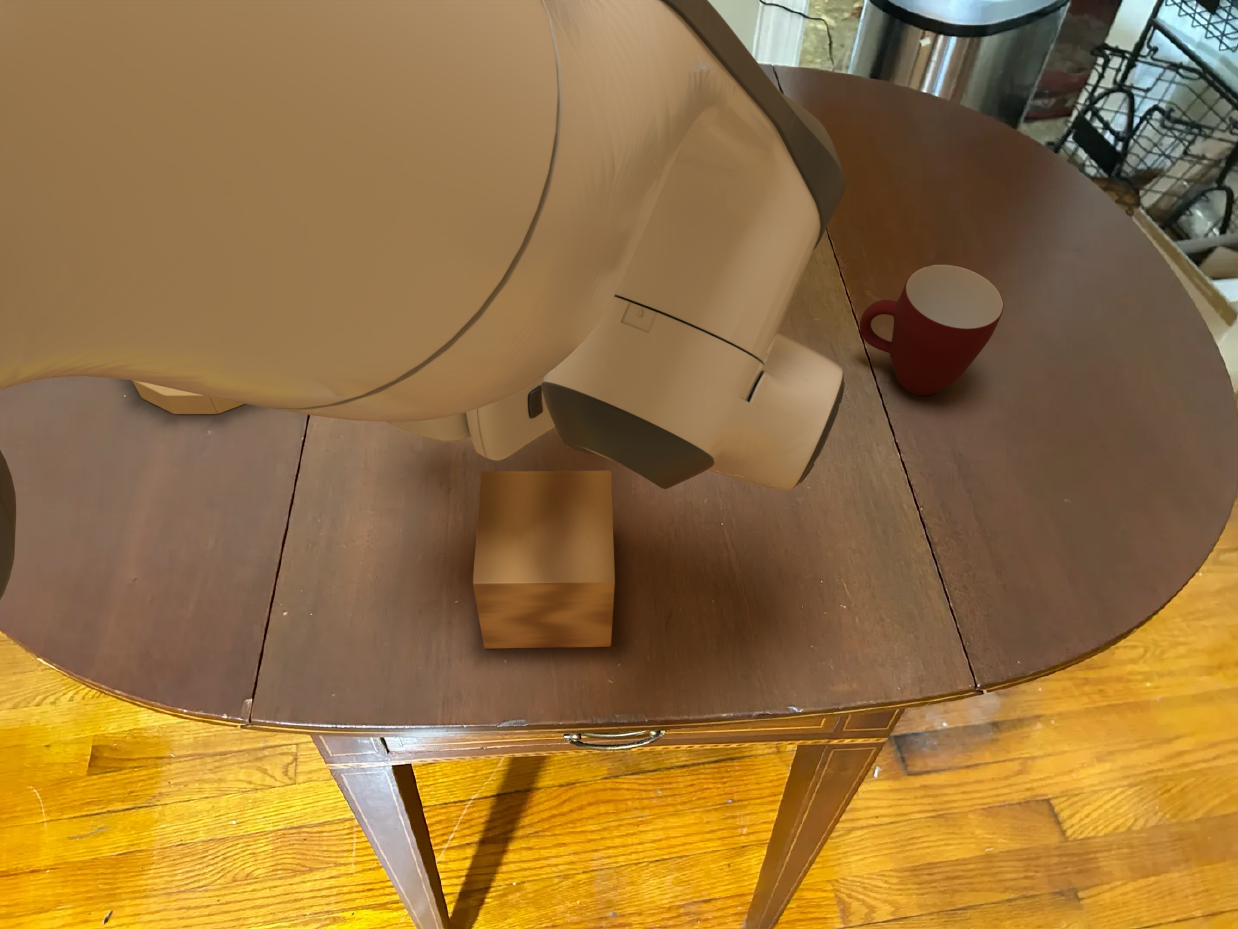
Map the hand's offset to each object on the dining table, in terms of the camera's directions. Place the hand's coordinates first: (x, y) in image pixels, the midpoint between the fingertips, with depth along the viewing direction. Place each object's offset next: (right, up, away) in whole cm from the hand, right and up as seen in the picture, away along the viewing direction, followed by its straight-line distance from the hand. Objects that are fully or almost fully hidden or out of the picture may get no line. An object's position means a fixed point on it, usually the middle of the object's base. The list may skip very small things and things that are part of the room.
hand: (382, 257), depth 57 cm
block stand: (+10, -23, +10) cm, 27 cm away
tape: (-21, -4, +24) cm, 32 cm away
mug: (+41, -5, +25) cm, 48 cm away
